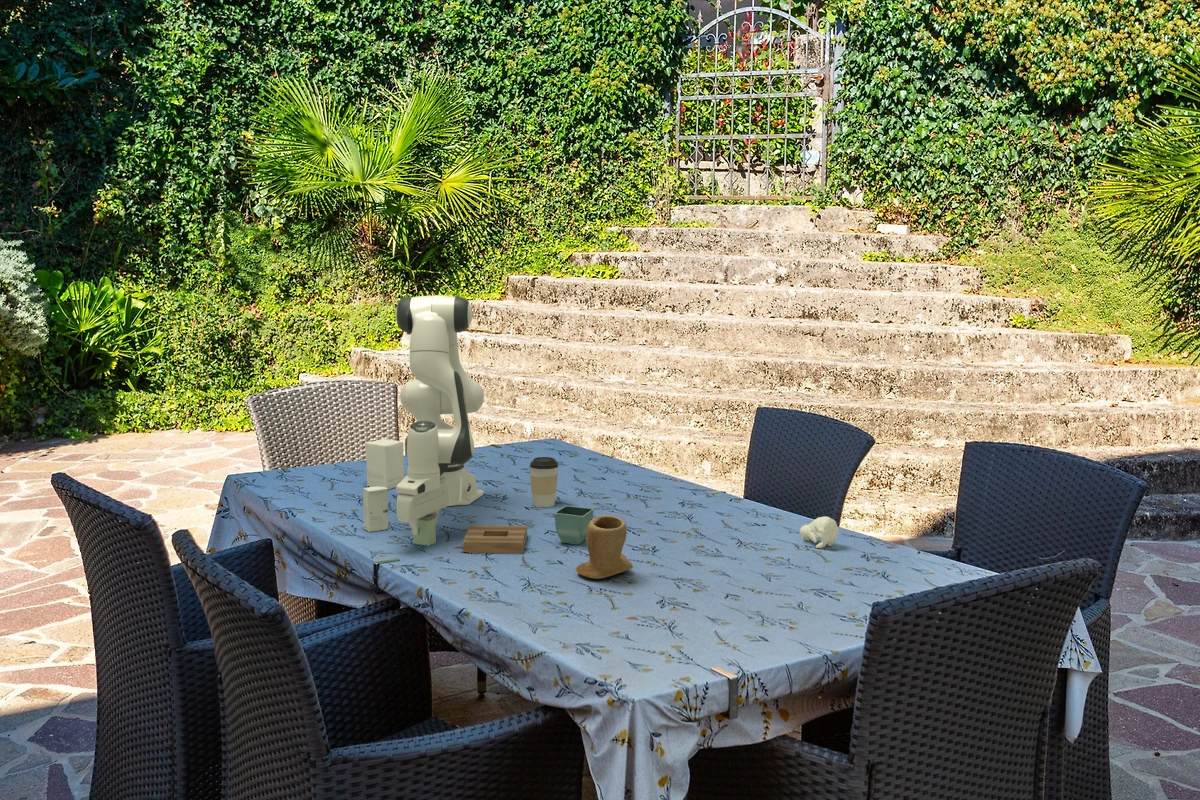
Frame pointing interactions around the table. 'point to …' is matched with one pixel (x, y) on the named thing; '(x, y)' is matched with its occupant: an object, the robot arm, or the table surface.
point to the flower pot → (572, 523)
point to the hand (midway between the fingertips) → (424, 530)
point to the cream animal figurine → (820, 531)
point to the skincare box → (375, 508)
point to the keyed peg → (426, 530)
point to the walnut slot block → (495, 539)
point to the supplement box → (384, 463)
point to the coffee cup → (543, 481)
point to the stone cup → (605, 548)
